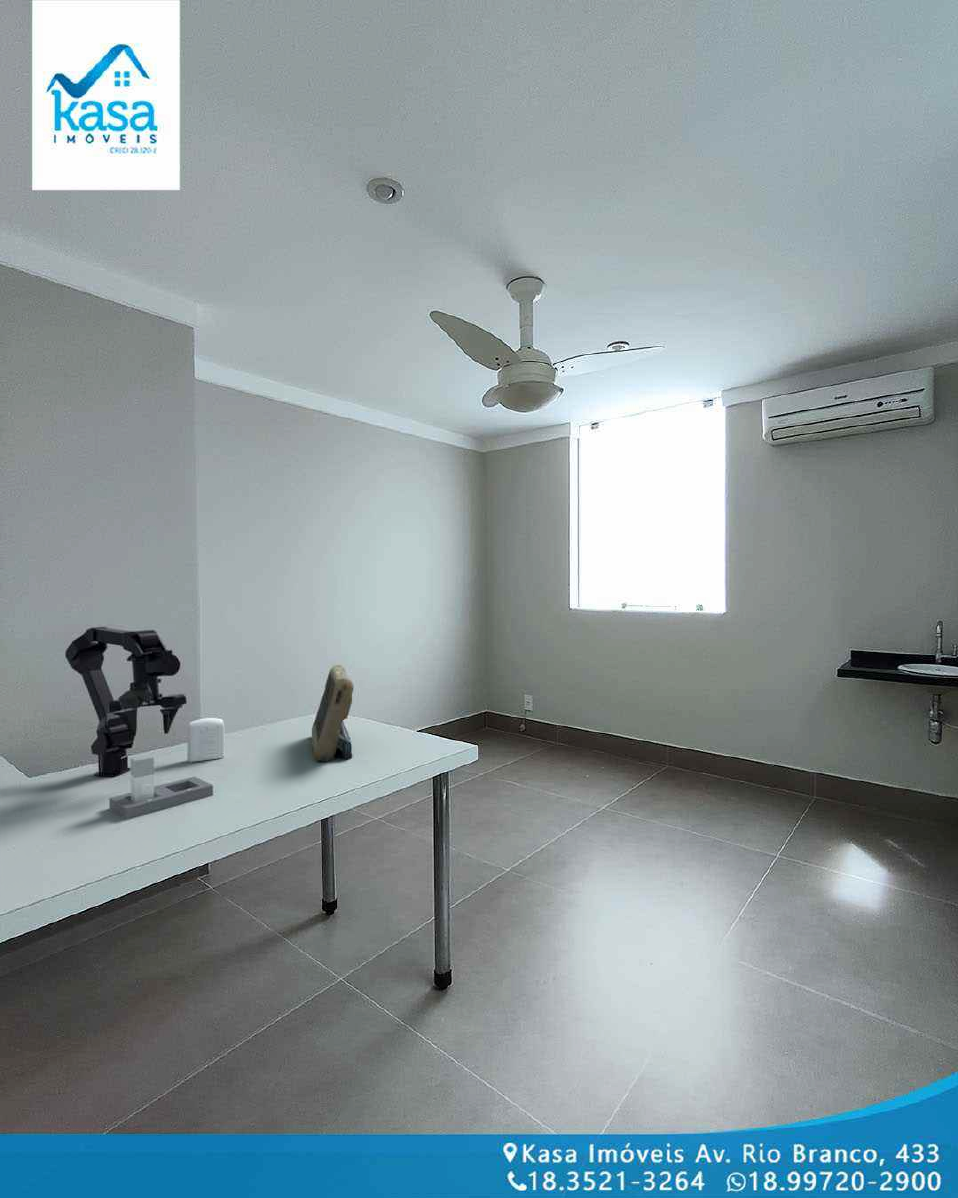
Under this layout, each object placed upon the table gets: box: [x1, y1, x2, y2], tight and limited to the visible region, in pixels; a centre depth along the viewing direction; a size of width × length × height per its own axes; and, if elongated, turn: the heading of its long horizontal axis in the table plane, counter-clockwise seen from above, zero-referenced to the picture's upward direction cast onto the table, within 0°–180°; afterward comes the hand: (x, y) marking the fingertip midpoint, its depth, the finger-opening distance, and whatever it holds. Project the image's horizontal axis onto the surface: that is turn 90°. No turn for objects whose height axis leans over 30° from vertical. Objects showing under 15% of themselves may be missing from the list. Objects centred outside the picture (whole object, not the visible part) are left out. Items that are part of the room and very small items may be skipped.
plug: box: [130, 753, 155, 803], centre depth 140 cm, size 5×4×12 cm
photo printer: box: [186, 717, 225, 763], centre depth 178 cm, size 10×4×12 cm, turn 123°
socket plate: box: [108, 776, 214, 820], centre depth 144 cm, size 10×20×3 cm, turn 141°
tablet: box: [311, 664, 355, 763], centre depth 191 cm, size 33×14×25 cm, turn 23°
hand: (150, 734), depth 158 cm, fingers open, 9 cm apart
